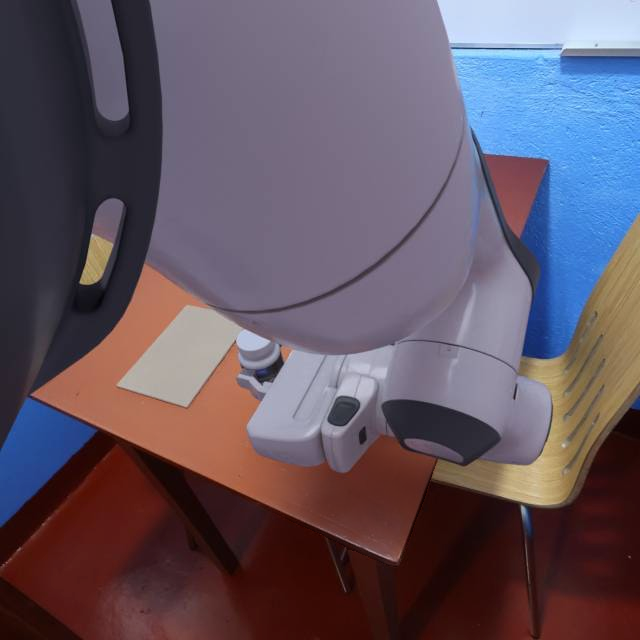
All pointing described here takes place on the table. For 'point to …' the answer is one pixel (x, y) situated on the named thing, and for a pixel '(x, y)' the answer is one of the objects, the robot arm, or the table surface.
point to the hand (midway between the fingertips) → (253, 357)
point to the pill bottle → (259, 356)
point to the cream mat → (182, 357)
